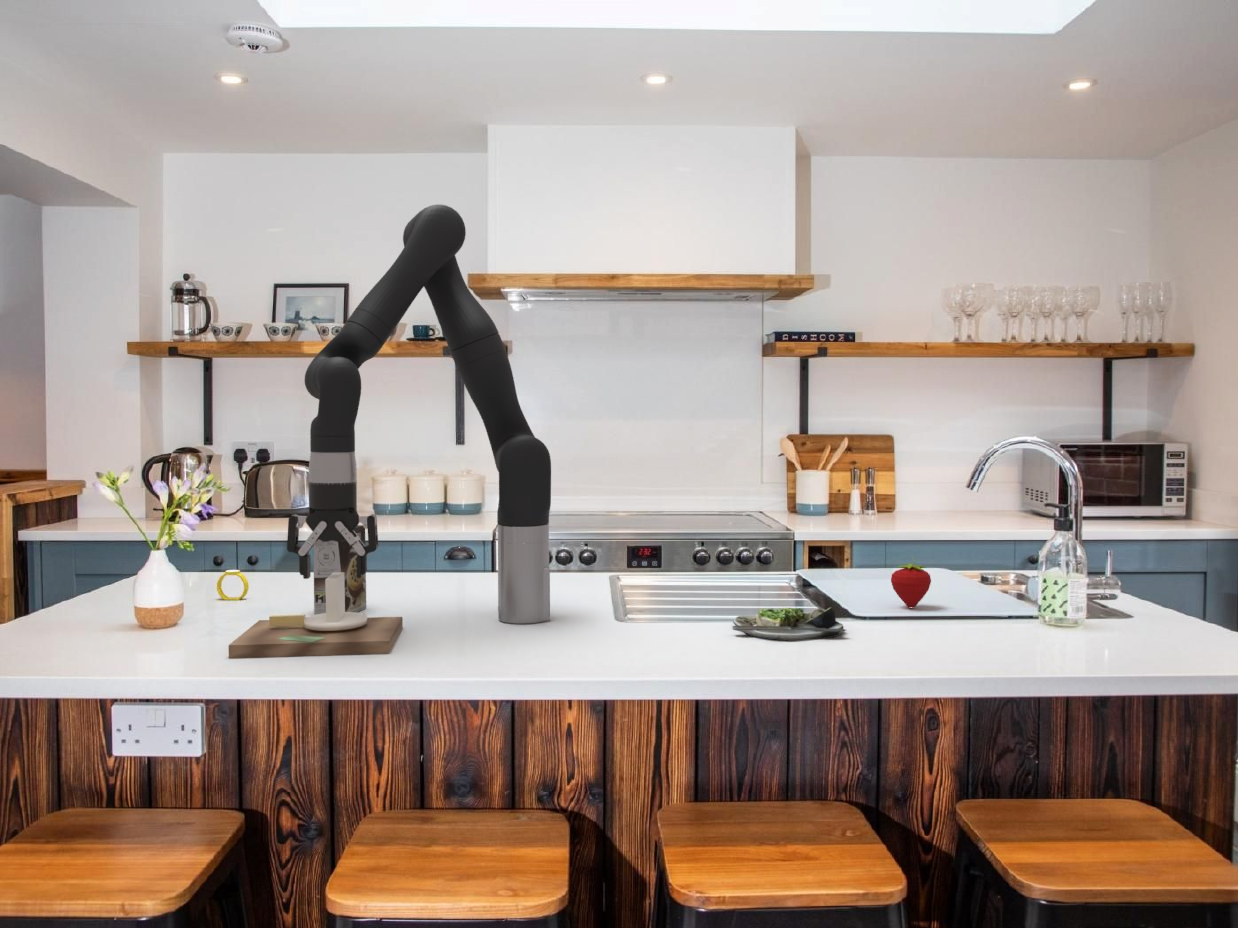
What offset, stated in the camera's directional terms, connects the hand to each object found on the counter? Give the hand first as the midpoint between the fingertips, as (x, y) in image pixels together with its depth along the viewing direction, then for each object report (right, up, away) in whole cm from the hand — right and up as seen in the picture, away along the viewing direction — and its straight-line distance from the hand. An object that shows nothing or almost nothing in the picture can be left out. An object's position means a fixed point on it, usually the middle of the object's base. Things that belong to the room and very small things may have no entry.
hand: (333, 577), depth 160 cm
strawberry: (+102, -9, +24) cm, 106 cm away
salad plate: (+77, -10, +6) cm, 78 cm away
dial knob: (-2, -8, 0) cm, 8 cm away
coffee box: (-5, -9, +22) cm, 24 cm away
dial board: (-1, -10, -2) cm, 11 cm away
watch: (-30, -9, +35) cm, 47 cm away
